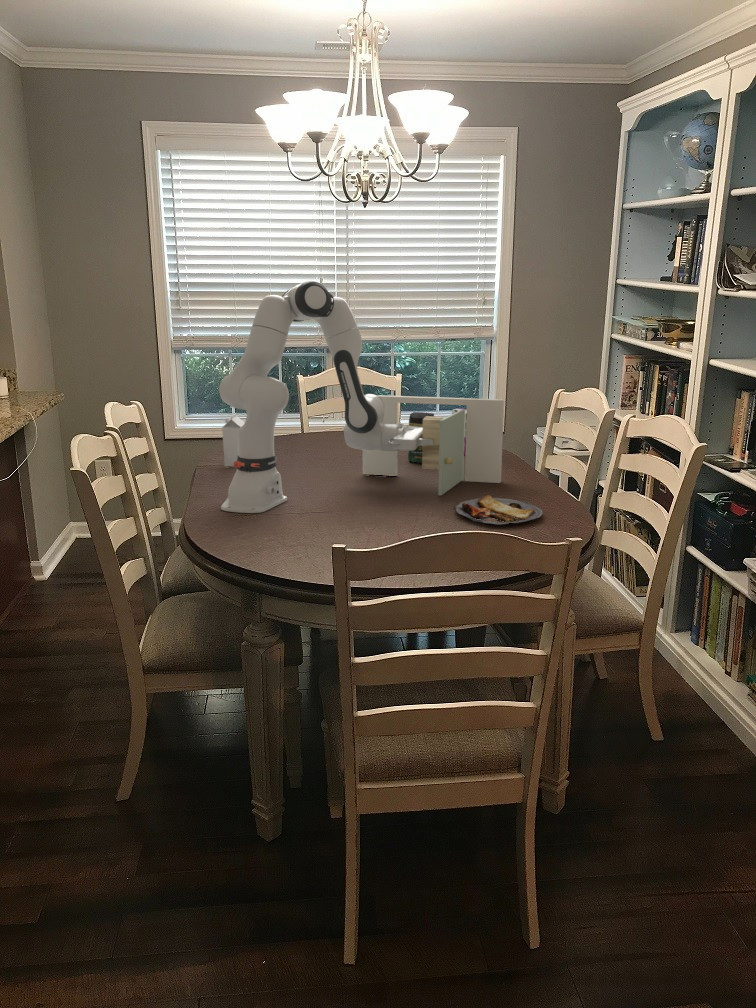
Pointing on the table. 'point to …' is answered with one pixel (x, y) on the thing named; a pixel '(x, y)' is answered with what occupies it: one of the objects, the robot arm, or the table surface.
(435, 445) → the doorstop block
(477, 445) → the door frame
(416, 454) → the coffee jar
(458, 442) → the door
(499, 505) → the food plate
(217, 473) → the table surface
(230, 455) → the milk carton
